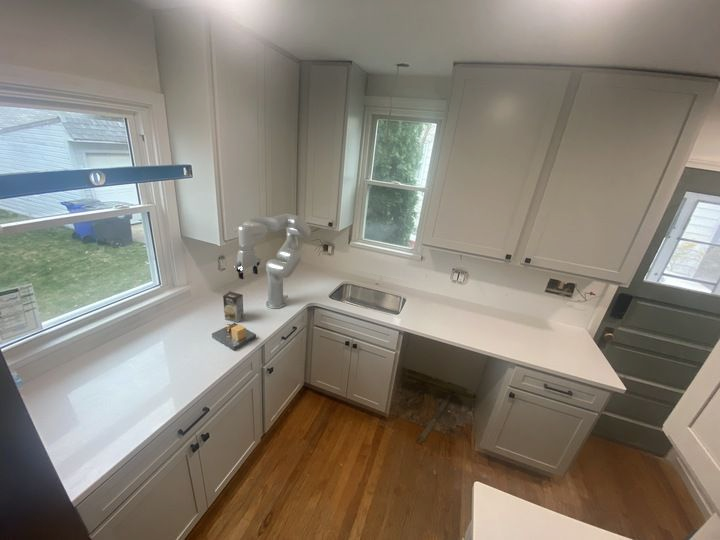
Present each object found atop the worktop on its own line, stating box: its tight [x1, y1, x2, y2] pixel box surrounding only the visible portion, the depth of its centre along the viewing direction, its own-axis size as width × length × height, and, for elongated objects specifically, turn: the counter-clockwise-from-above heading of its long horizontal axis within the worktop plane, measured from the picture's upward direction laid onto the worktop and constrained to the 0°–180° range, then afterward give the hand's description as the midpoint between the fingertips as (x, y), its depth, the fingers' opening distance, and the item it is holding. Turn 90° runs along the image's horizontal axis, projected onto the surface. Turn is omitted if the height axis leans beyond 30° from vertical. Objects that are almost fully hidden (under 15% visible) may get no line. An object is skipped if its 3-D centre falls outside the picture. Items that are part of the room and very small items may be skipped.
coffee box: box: [222, 291, 245, 324], centre depth 171 cm, size 9×6×16 cm
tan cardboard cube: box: [231, 324, 247, 340], centre depth 154 cm, size 5×5×6 cm
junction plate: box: [211, 322, 257, 351], centre depth 156 cm, size 14×18×6 cm
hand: (248, 276), depth 166 cm, fingers open, 9 cm apart
